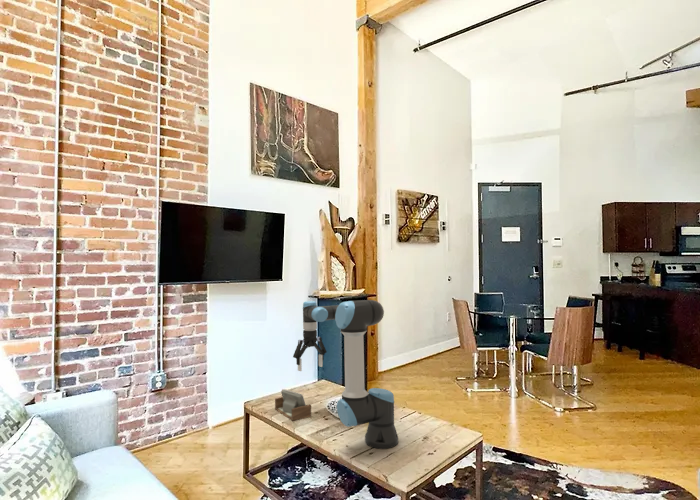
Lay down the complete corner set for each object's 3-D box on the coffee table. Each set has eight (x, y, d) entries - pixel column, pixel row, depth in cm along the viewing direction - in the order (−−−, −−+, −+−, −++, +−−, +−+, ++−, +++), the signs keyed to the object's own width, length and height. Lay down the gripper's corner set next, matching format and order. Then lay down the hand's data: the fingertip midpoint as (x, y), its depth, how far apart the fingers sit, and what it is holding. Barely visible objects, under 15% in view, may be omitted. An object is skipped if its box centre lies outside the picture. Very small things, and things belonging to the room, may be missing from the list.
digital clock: (308, 413, 218) (308, 393, 219) (294, 417, 213) (293, 396, 213) (292, 404, 231) (292, 385, 231) (278, 408, 225) (278, 389, 225)
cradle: (311, 416, 217) (311, 404, 217) (292, 421, 210) (292, 409, 210) (292, 405, 233) (292, 394, 233) (275, 409, 227) (275, 398, 227)
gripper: (324, 326, 235) (325, 363, 235) (286, 331, 220) (286, 371, 219) (332, 327, 229) (332, 366, 229) (293, 333, 214) (294, 374, 213)
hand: (310, 368), depth 224 cm, fingers open, 13 cm apart
